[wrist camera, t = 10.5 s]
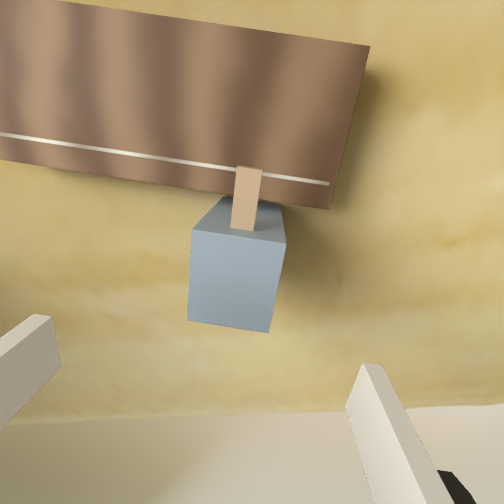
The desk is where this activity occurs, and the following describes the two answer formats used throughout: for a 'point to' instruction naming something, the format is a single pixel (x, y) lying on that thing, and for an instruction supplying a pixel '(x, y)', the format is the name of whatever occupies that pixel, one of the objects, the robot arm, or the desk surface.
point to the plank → (174, 99)
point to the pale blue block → (237, 259)
